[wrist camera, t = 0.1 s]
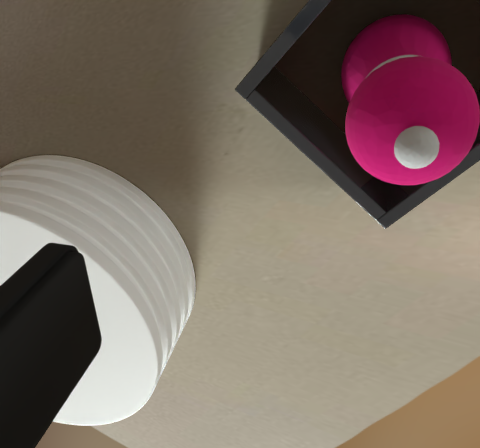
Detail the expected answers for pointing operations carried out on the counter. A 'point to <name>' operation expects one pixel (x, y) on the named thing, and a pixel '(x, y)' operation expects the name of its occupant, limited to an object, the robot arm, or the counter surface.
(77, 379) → the robot arm
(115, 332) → the plate stack
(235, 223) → the counter surface
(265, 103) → the open box
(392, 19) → the pepper mill
